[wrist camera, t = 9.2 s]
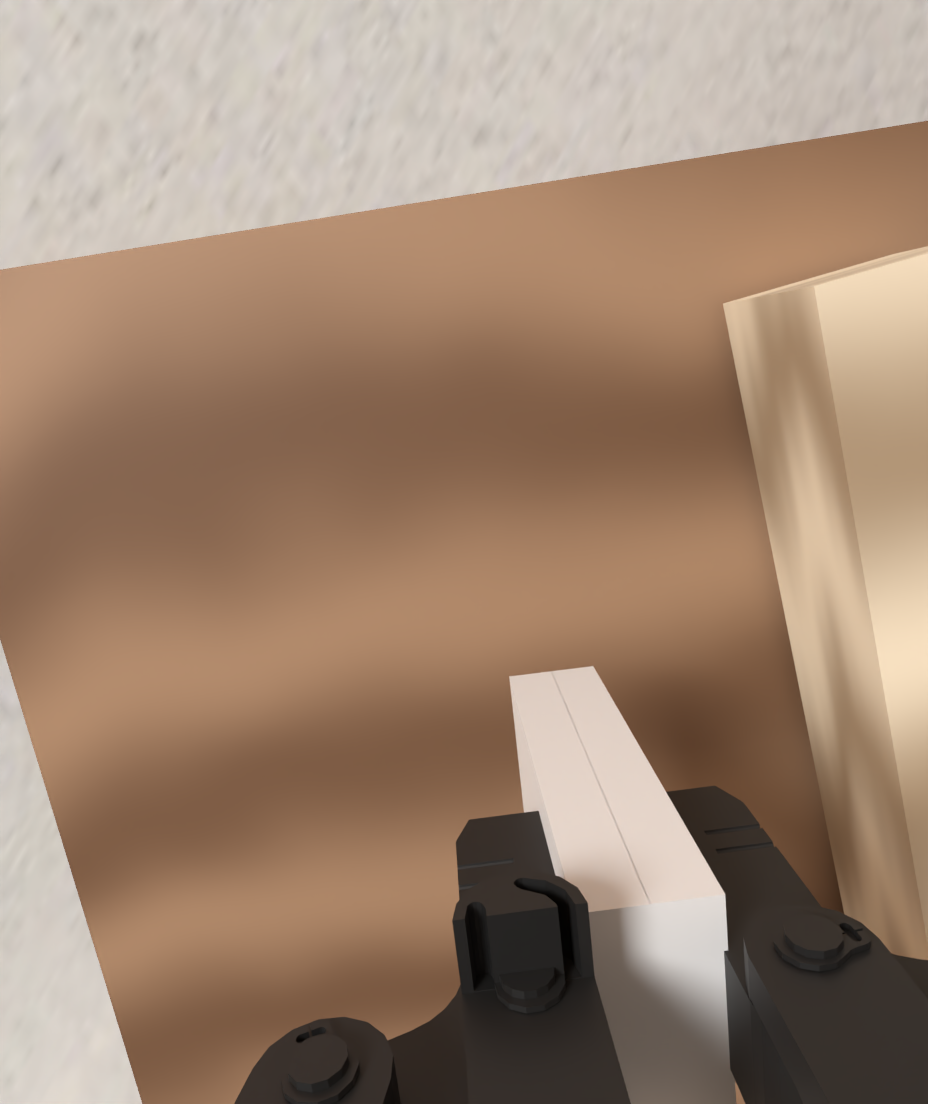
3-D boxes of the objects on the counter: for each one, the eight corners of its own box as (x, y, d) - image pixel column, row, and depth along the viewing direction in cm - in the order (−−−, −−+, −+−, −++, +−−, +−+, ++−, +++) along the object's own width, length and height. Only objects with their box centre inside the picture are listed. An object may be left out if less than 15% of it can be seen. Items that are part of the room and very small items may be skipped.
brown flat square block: (997, 993, 25) (1193, 1211, 18) (209, 1124, 25) (133, 1389, 18) (993, 134, 19) (1272, 23, 13) (-26, 298, 19) (-252, 267, 13)
